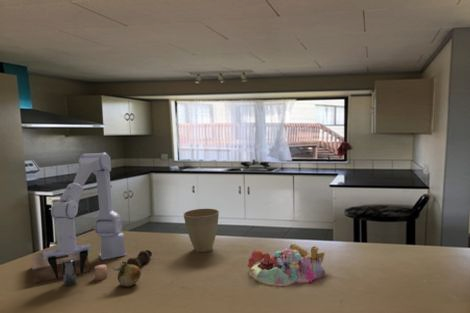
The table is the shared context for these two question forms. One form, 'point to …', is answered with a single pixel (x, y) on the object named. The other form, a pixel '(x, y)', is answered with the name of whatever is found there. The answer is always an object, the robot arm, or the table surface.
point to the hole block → (45, 271)
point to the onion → (127, 274)
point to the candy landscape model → (286, 266)
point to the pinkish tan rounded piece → (101, 272)
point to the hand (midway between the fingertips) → (69, 275)
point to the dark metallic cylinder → (69, 272)
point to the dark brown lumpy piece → (140, 258)
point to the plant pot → (202, 228)
